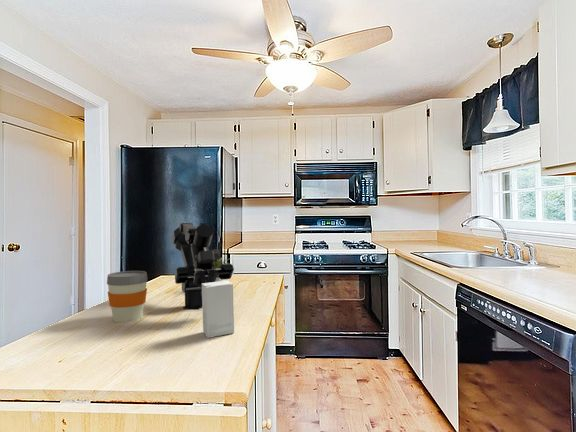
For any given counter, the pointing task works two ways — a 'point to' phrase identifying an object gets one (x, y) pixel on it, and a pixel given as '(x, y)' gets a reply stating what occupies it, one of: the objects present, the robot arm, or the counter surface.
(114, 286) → the reusable coffee cup
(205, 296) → the skincare box
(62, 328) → the counter surface
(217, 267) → the house plant
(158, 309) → the counter surface
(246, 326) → the counter surface
